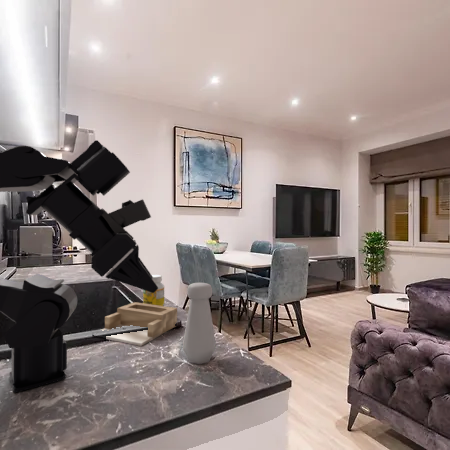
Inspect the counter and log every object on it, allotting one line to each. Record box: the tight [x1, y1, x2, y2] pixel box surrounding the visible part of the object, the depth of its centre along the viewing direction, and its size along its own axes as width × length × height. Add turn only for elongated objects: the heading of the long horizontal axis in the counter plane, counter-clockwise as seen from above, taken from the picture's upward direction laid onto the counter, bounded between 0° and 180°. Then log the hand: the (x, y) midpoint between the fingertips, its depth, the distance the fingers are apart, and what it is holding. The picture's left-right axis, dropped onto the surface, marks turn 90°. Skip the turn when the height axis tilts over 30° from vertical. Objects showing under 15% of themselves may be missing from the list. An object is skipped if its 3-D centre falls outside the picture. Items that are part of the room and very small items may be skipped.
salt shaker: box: [182, 282, 217, 365], centre depth 54 cm, size 6×6×13 cm
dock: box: [101, 301, 178, 347], centre depth 67 cm, size 13×12×4 cm
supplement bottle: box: [142, 274, 165, 306], centre depth 81 cm, size 5×5×10 cm
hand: (153, 284), depth 51 cm, fingers open, 9 cm apart
